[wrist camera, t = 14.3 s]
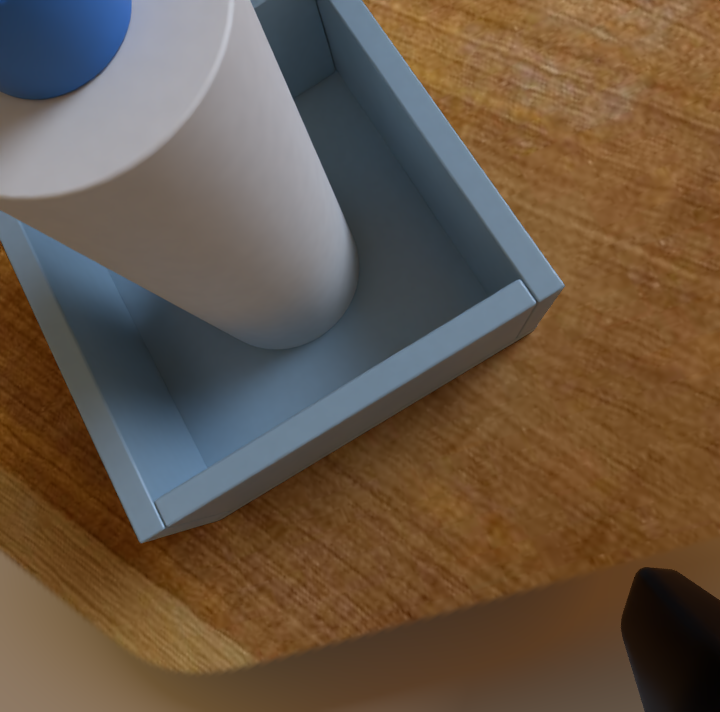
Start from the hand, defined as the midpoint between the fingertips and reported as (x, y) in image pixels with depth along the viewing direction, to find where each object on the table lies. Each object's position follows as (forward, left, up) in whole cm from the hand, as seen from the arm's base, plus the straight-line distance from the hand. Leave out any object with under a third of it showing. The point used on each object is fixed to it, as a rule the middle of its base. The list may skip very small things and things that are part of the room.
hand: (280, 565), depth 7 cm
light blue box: (+8, -1, -12) cm, 15 cm away
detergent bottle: (+8, -1, -11) cm, 14 cm away
